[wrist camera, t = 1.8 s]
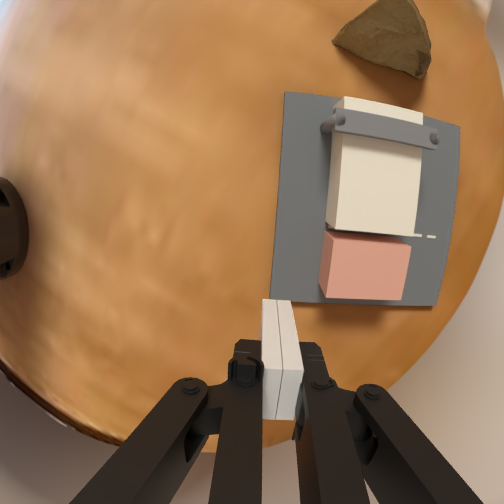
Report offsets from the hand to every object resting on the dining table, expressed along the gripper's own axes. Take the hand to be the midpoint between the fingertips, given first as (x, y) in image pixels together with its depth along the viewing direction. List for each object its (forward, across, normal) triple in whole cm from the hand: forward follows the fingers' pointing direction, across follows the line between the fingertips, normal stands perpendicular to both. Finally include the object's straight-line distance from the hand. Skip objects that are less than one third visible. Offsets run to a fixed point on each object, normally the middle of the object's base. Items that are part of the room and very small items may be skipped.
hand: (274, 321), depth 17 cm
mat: (+16, +11, +6) cm, 20 cm away
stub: (+15, +9, 0) cm, 18 cm away
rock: (+17, +11, +24) cm, 31 cm away
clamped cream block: (+15, +9, +10) cm, 20 cm away
